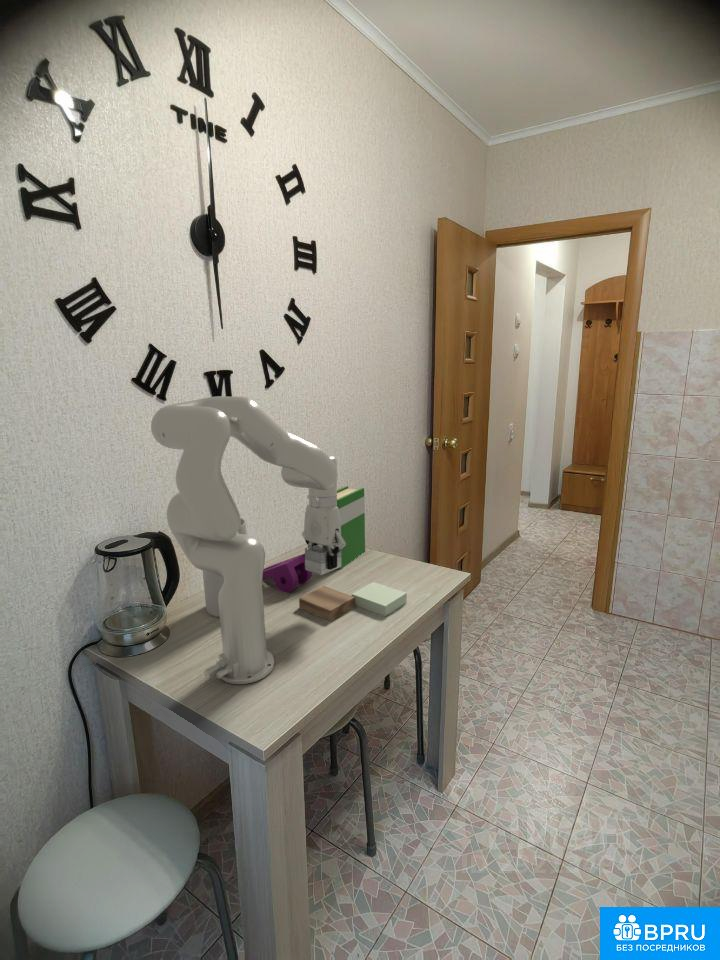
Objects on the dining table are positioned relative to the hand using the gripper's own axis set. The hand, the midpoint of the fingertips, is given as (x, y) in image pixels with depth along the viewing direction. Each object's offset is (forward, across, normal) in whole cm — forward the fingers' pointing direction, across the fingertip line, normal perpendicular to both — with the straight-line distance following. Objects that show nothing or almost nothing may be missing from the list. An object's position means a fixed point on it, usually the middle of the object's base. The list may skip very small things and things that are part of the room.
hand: (323, 564), depth 134 cm
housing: (+1, 0, 0) cm, 1 cm away
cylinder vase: (+14, -22, -15) cm, 30 cm away
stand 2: (+13, +10, +13) cm, 20 cm away
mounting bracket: (+13, -23, +5) cm, 27 cm away
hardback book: (+12, -20, +32) cm, 39 cm away
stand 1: (+13, 0, +2) cm, 13 cm away
